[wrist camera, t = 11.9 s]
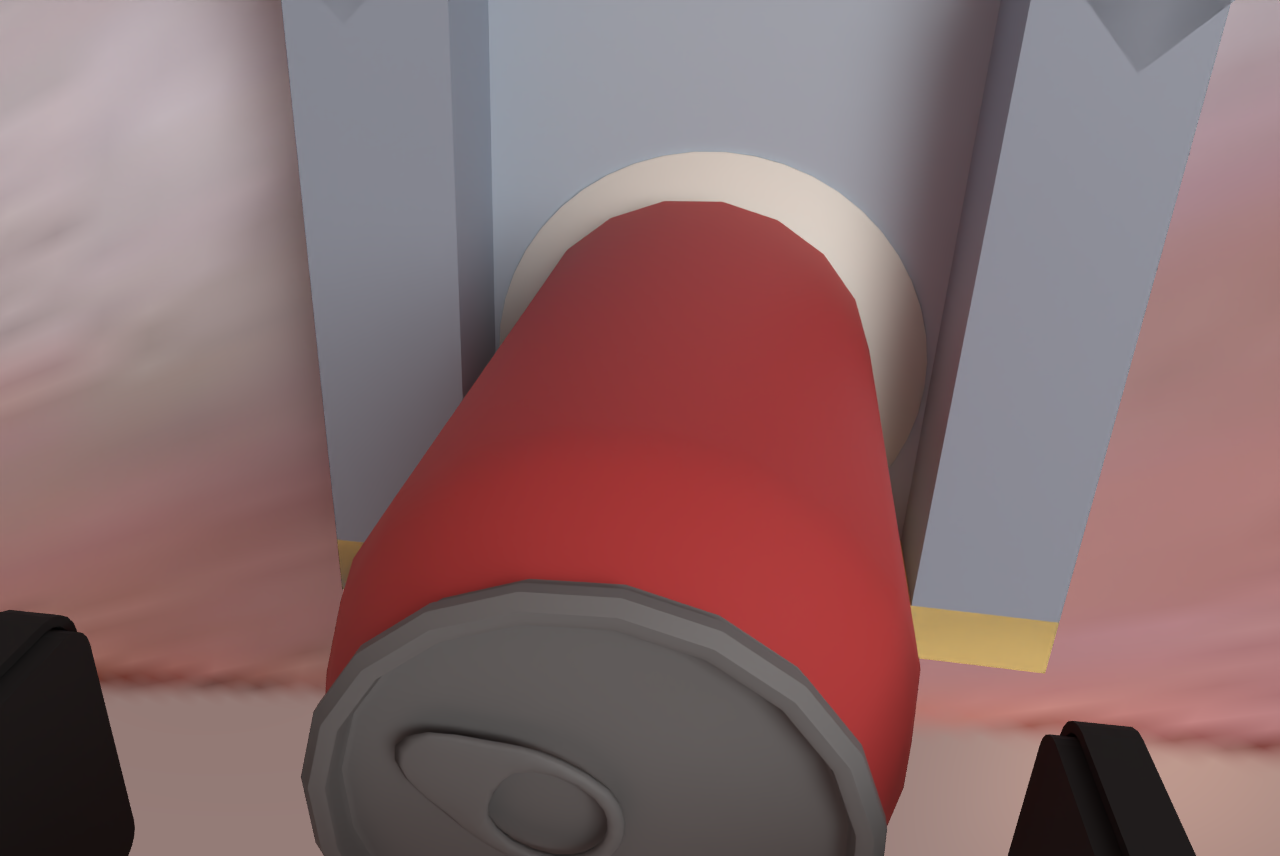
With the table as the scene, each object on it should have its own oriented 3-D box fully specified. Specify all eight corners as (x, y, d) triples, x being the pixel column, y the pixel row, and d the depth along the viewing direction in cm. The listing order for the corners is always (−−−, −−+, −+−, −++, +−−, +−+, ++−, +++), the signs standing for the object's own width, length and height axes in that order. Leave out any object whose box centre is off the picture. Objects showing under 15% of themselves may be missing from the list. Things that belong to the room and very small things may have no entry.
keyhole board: (372, 500, 24) (309, 584, 21) (275, -653, 15) (143, -797, 12) (1044, 574, 23) (1082, 677, 20) (1368, -663, 14) (1532, -830, 11)
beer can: (616, 126, 19) (368, 409, 8) (935, 293, 19) (1107, 769, 8) (484, 415, 22) (175, 904, 11) (763, 552, 22) (730, 1146, 11)
